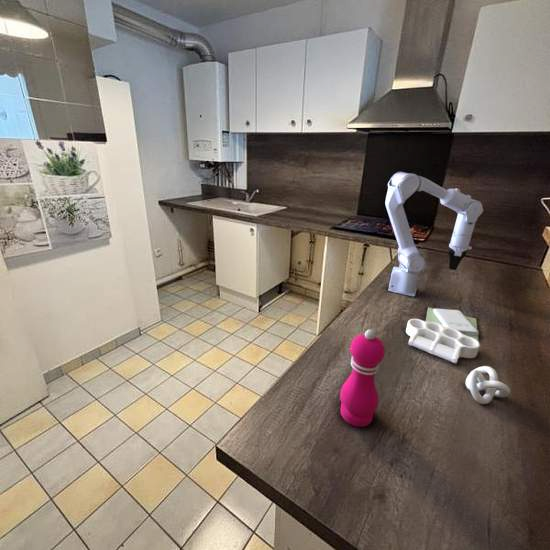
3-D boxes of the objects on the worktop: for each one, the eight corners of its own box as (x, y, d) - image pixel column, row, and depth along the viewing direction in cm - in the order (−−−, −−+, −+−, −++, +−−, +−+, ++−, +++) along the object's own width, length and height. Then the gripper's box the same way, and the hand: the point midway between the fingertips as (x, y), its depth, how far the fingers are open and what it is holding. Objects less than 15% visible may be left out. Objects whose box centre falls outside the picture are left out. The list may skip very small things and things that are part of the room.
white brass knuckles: (395, 342, 81) (412, 322, 91) (469, 373, 70) (479, 346, 80) (397, 332, 80) (414, 312, 90) (473, 362, 69) (483, 336, 79)
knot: (486, 414, 59) (495, 393, 57) (450, 387, 66) (457, 367, 64) (509, 403, 62) (518, 382, 60) (472, 378, 69) (480, 358, 66)
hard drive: (459, 314, 96) (477, 336, 84) (432, 312, 97) (447, 333, 85) (460, 310, 95) (479, 331, 84) (434, 308, 96) (449, 328, 85)
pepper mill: (333, 400, 62) (344, 319, 54) (366, 398, 62) (381, 318, 55) (344, 430, 55) (357, 343, 47) (380, 428, 56) (400, 342, 48)
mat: (424, 326, 89) (424, 326, 89) (428, 307, 100) (428, 307, 100) (478, 341, 83) (478, 340, 83) (475, 319, 94) (476, 318, 94)
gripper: (476, 240, 96) (465, 277, 101) (474, 231, 107) (464, 265, 113) (452, 236, 99) (442, 273, 104) (452, 228, 111) (443, 261, 116)
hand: (452, 269), depth 109 cm, fingers closed
